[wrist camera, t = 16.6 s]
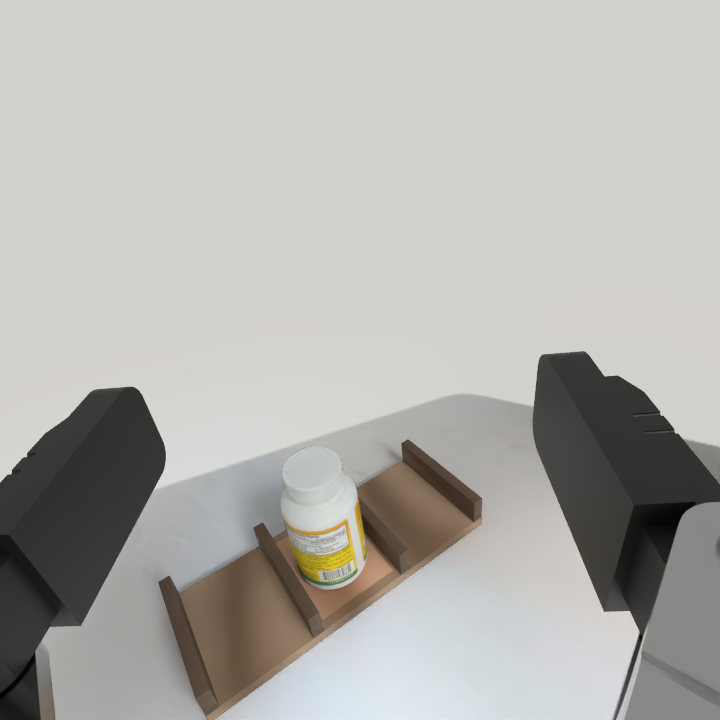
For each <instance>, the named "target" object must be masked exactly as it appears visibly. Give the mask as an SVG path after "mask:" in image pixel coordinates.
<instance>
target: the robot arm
mask: <svg viewBox="0 0 720 720" xmlns="http://www.w3.org/2000/svg"><path fill="white" fill-rule="evenodd" d="M533 434H534V440H535V444H536V448H537V451H538V453H539V456H540V458H541V461H542V463H543V465H544V468H545V470H546V473H547V475H548V478H549V480H550V482H551V485H552V487H553V490H554V492H555V494H556V497H557V499H558V502H559V504H560V506H561V509H562V511H563V514H564V516H565V519H566V521H567V523H568V526H569V528H570V531H571V533H572V535H573V538H574V540H575V543H576V545H577V547H578V550H579V552H580V555H581V557H582V560H583V562H584V564H585V567H586V569H587V572H588V574H589V576H590V579H591V581H592V584H593V586H594V588H595V591H596V593H597V596H598V598H599V600H600V603H601V605H602V608H603V610H604V612H607V611H630V612H631V614H632V616H633V618H634V620H635V623H636V625H637V627H638V629H639V634H638V637H637V640H636V643H635V646H634V649H633V653H632V656H631V659H630V662H629V666H628V669H627V672H626V675H625V679H624V682H623V685H622V688H621V692H620V695H619V698H618V701H617V704H616V708H615V711H614V714H613V717H612V720H720V484H719V483H718V482H717V480H716V479H715V478H714V477H713V476H712V474H711V473H710V472H709V471H708V470H707V468H706V467H705V466H704V465H703V463H702V462H701V461H700V460H699V459H698V457H697V456H696V455H695V454H694V452H693V451H692V450H691V449H690V448H689V446H688V445H687V444H686V443H685V441H684V440H683V439H682V438H681V437H680V435H679V434H675V432H674V428H673V427H672V426H671V424H670V423H669V422H668V421H667V419H666V418H665V417H664V416H661V415H660V411H659V410H658V408H657V407H656V406H655V405H654V404H653V402H652V401H651V400H650V399H649V397H648V396H647V395H646V394H645V393H644V392H643V391H642V390H640V389H639V388H637V387H635V386H634V385H632V384H631V383H629V382H627V381H626V380H624V379H622V378H621V377H619V376H607V377H604V375H603V374H602V373H601V371H600V370H599V369H598V367H597V366H596V364H595V363H594V362H593V360H592V359H591V357H590V356H589V355H588V354H587V353H586V352H584V351H582V352H570V353H557V354H544V355H542V356H541V357H540V359H539V364H538V371H537V382H536V391H535V401H534V411H533ZM165 460H166V453H165V446H164V443H163V441H162V438H161V436H160V434H159V432H158V430H157V427H156V425H155V423H154V421H153V418H152V416H151V414H150V412H149V410H148V407H147V405H146V403H145V401H144V398H143V396H142V394H141V393H140V391H138V389H136V388H134V387H122V388H109V389H97V390H94V391H92V392H90V393H89V394H88V396H87V397H86V398H85V399H84V400H83V401H82V402H81V403H80V405H79V406H78V407H77V408H76V409H75V410H74V411H73V412H72V413H71V415H70V416H69V417H68V418H67V419H65V420H64V421H62V422H61V423H60V424H58V425H57V426H55V427H54V428H53V429H51V430H50V431H48V432H47V433H45V434H44V435H43V437H42V438H41V439H40V440H39V441H38V442H37V443H36V444H35V445H34V446H33V447H32V449H31V450H30V451H29V452H28V453H27V457H25V458H22V460H21V461H20V462H19V463H18V464H17V465H16V466H15V467H14V468H13V469H12V474H11V475H7V476H6V477H5V478H4V479H3V480H2V481H1V483H0V720H55V711H54V701H53V692H52V682H51V672H50V663H49V654H48V650H47V648H46V646H45V645H44V644H43V643H42V642H41V641H42V639H43V637H44V635H45V634H46V632H47V630H48V629H49V627H56V626H81V625H82V623H83V621H84V619H85V617H86V615H87V613H88V611H89V610H90V608H91V606H92V604H93V602H94V600H95V598H96V596H97V595H98V593H99V591H100V589H101V587H102V585H103V583H104V581H105V580H106V578H107V576H108V574H109V572H110V570H111V568H112V567H113V565H114V563H115V561H116V559H117V557H118V555H119V553H120V552H121V550H122V548H123V546H124V544H125V542H126V540H127V538H128V537H129V535H130V533H131V531H132V529H133V527H134V525H135V523H136V522H137V520H138V518H139V516H140V514H141V512H142V510H143V508H144V507H145V505H146V503H147V501H148V499H149V497H150V495H151V493H152V492H153V490H154V488H155V486H156V484H157V482H158V480H159V478H160V476H161V475H162V473H163V470H164V466H165Z"/></svg>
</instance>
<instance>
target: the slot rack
mask: <svg viewBox="0 0 720 720" xmlns="http://www.w3.org/2000/svg"><path fill="white" fill-rule="evenodd" d="M401 444H402V455H403V461H402V462H401V463H399V464H397V465H396V466H394V467H392V468H390V469H389V470H387V471H385V472H384V473H382V474H380V475H379V476H377V477H375V478H374V479H372V480H370V481H369V482H367V483H365V484H363V485H362V486H360V487H358V488H357V494H358V499H359V506H360V512H361V518H362V524H363V530H364V535H365V541H366V548H367V560H366V563H365V566H364V568H363V570H362V572H361V573H360V575H359V576H358V577H357V578H356V579H355V580H354V581H352V582H351V583H349V584H348V585H346V586H344V587H341V588H338V589H331V590H324V589H319V588H317V587H314V586H312V585H310V584H309V583H308V582H306V581H305V580H304V579H303V577H302V576H301V574H300V571H299V569H298V566H297V562H296V559H295V556H294V553H293V549H292V546H291V543H290V539H289V536H288V533H287V530H286V531H284V532H282V533H281V534H279V535H277V536H276V537H274V538H272V536H271V535H270V533H269V532H268V530H267V528H266V527H265V525H264V524H263V523H261V524H259V525H257V526H256V527H254V531H255V534H256V537H257V540H258V543H259V545H260V546H259V547H257V548H256V549H254V550H252V551H250V552H249V553H247V554H245V555H244V556H242V557H240V558H239V559H237V560H235V561H234V562H232V563H230V564H229V565H227V566H225V567H223V568H222V569H220V570H218V571H217V572H215V573H213V574H212V575H210V576H208V577H207V578H205V579H203V580H202V581H200V582H198V583H196V584H195V585H193V586H191V587H190V588H188V589H186V590H185V591H183V592H181V593H180V594H179V592H178V591H177V589H176V587H175V585H174V583H173V581H172V579H171V577H170V576H168V577H166V578H165V579H163V580H161V581H159V582H158V583H159V586H160V589H161V592H162V595H163V598H164V602H165V605H166V608H167V611H168V614H169V617H170V620H171V623H172V627H173V630H174V633H175V636H176V639H177V642H178V645H179V648H180V651H181V655H182V658H183V661H184V664H185V667H186V670H187V673H188V676H189V679H190V683H191V686H192V689H193V692H194V695H195V698H196V700H197V702H198V703H199V705H200V706H201V708H202V710H203V711H204V713H205V716H206V718H207V719H208V720H214V719H216V718H217V717H218V716H220V715H221V714H223V713H224V712H225V711H227V710H228V709H229V708H231V707H232V706H233V705H235V704H236V703H238V702H239V701H240V700H242V699H243V698H244V697H246V696H247V695H248V694H250V693H251V692H253V691H254V690H255V689H257V688H258V687H259V686H261V685H262V684H263V683H265V682H266V681H268V680H269V679H270V678H272V677H273V676H274V675H276V674H277V673H278V672H280V671H281V670H283V669H284V668H285V667H287V666H288V665H289V664H291V663H292V662H293V661H295V660H296V659H298V658H299V657H300V656H302V655H303V654H304V653H306V652H307V651H308V650H310V649H311V648H313V647H314V646H315V645H317V644H318V643H319V642H321V641H322V640H323V639H325V638H326V637H328V636H329V635H330V634H332V633H333V632H334V631H336V630H337V629H338V628H340V627H341V626H343V625H344V624H345V623H347V622H348V621H349V620H351V619H352V618H353V617H355V616H356V615H358V614H359V613H360V612H362V611H363V610H364V609H366V608H367V607H369V606H370V605H371V604H373V603H374V602H375V601H377V600H378V599H379V598H381V597H382V596H384V595H385V594H386V593H388V592H389V591H390V590H392V589H393V588H394V587H396V586H397V585H399V584H400V583H401V582H403V581H404V580H405V579H407V578H408V577H409V576H411V575H412V574H414V573H415V572H416V571H418V570H419V569H420V568H422V567H423V566H424V565H426V564H427V563H429V562H430V561H431V560H433V559H434V558H435V557H437V556H438V555H439V554H441V553H442V552H444V551H445V550H446V549H448V548H449V547H450V546H452V545H453V544H454V543H456V542H457V541H459V540H460V539H461V538H463V537H464V536H465V535H467V534H468V533H469V532H471V531H472V530H474V529H475V528H476V527H478V526H479V525H480V524H482V517H481V511H482V498H481V497H480V496H478V495H477V494H476V493H475V492H474V491H472V490H471V489H470V488H469V487H467V486H466V485H465V484H464V483H462V482H461V481H460V480H459V479H457V478H456V477H455V476H454V475H452V474H451V473H450V472H449V471H447V470H446V469H445V468H444V467H442V466H441V465H440V464H439V463H437V462H436V461H435V460H434V459H432V458H431V457H430V456H429V455H427V454H426V453H425V452H424V451H422V450H421V449H420V448H419V447H417V446H416V445H415V444H414V443H412V442H411V441H410V440H409V439H408V440H406V441H405V442H403V443H401Z"/></svg>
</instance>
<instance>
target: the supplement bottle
mask: <svg viewBox="0 0 720 720" xmlns="http://www.w3.org/2000/svg"><path fill="white" fill-rule="evenodd" d="M282 480H283V484H284V489H283V491H282V494H281V498H280V509H281V514H282V517H283V520H284V523H285V527H286V530H287V533H288V536H289V539H290V543H291V546H292V549H293V553H294V556H295V559H296V562H297V566H298V569H299V571H300V574H301V576H302V577H303V579H304V580H305V581H306V582H308V583H309V584H310V585H312V586H314V587H317V588H319V589H324V590H331V589H338V588H341V587H344V586H346V585H348V584H349V583H351V582H352V581H354V580H355V579H356V578H357V577H358V576H359V575H360V573H361V572H362V570H363V568H364V566H365V563H366V560H367V548H366V541H365V535H364V530H363V524H362V518H361V512H360V506H359V499H358V494H357V489H356V486H355V484H354V482H353V480H352V479H351V477H350V476H349V475H348V474H347V473H345V472H344V470H343V466H342V462H341V459H340V457H339V455H338V454H337V453H336V452H335V451H334V450H332V449H330V448H327V447H322V446H312V447H307V448H304V449H301V450H299V451H297V452H295V453H294V454H292V455H291V456H290V457H289V458H288V459H287V460H286V461H285V463H284V465H283V467H282Z"/></svg>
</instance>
